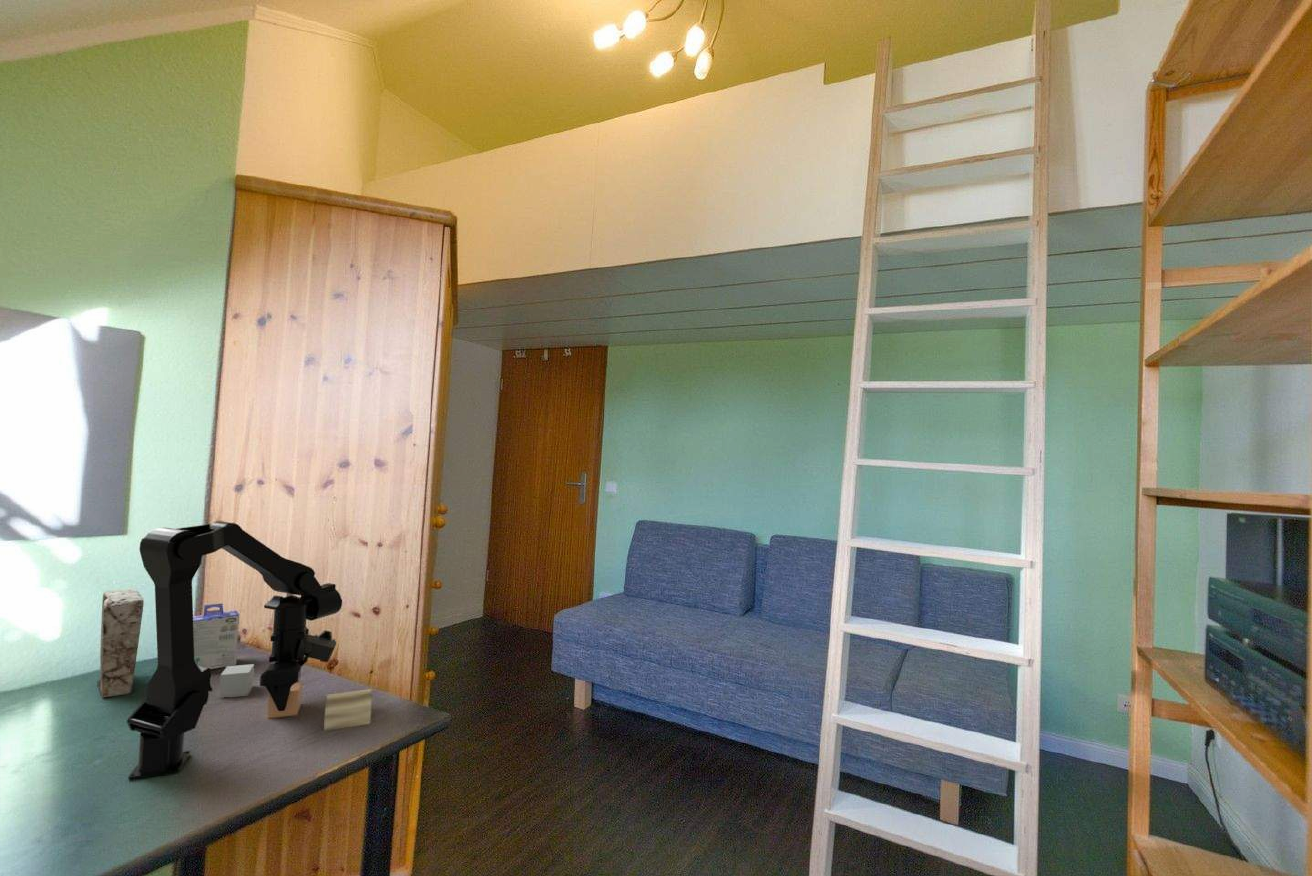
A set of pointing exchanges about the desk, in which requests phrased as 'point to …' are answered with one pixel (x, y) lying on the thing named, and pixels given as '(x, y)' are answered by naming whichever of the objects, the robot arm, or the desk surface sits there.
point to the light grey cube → (236, 681)
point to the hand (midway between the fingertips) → (285, 703)
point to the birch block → (347, 709)
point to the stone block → (119, 640)
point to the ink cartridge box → (216, 637)
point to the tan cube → (292, 703)
